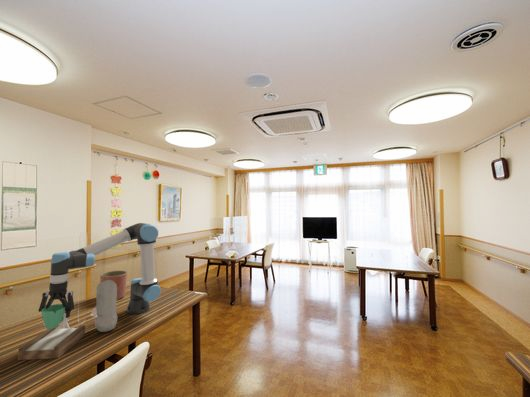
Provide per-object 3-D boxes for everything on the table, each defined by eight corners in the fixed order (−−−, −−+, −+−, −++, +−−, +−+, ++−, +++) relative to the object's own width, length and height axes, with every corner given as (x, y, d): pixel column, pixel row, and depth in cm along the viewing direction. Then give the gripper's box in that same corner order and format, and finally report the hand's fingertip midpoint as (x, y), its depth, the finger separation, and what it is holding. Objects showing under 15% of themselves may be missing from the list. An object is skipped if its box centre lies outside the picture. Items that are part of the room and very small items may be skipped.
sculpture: (123, 326, 154) (126, 278, 155) (109, 335, 142) (112, 284, 144) (101, 324, 156) (104, 277, 157) (86, 333, 144) (89, 282, 145)
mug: (50, 332, 123) (51, 312, 123) (34, 329, 124) (36, 310, 125) (77, 319, 137) (79, 302, 137) (63, 317, 139) (65, 299, 139)
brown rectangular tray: (84, 334, 142) (85, 325, 143) (58, 357, 121) (59, 346, 121) (50, 336, 140) (51, 326, 140) (17, 360, 118) (18, 348, 118)
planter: (106, 293, 208) (108, 270, 209) (129, 293, 210) (131, 270, 211) (93, 302, 190) (95, 276, 190) (119, 302, 192) (120, 276, 192)
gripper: (84, 279, 137) (81, 320, 136) (42, 279, 134) (38, 321, 133) (76, 283, 129) (73, 326, 128) (31, 284, 126) (27, 328, 125)
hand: (55, 324), depth 131 cm, fingers closed on mug, 9 cm apart
